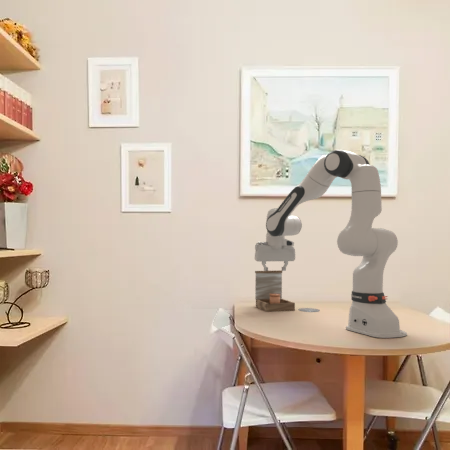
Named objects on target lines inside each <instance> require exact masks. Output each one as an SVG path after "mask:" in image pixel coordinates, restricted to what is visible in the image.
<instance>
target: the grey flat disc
mask: <svg viewBox="0 0 450 450" xmlns="http://www.w3.org/2000/svg"><path fill="white" fill-rule="evenodd" d="M298 311H299V312H304V313H319V312H320V311H321V310H320V309H318V308H312V307H300V308H298Z"/></svg>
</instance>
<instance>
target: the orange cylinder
mask: <svg viewBox="0 0 450 450" xmlns="http://www.w3.org/2000/svg"><path fill="white" fill-rule="evenodd" d="M274 303H280V294H279V293H270V304H274Z"/></svg>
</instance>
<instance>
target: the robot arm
mask: <svg viewBox="0 0 450 450" xmlns="http://www.w3.org/2000/svg"><path fill="white" fill-rule="evenodd" d="M336 178H341V179H342V180H343V179H344V180H349V182H350V186H351V211H350V217H349V220H348V222H347V224H346V226H345V228H343V230H341V231H340V232H339V234H338V235H337V240H336V243H337V244H336V245H337V247H338V250H339V251H340V253H342V254H344V255H347V256H352V257H362V260H361V263H360V264H359V265H358V266H356V267H355V268H354V269H353V271H352V290H351V294H350V295H351V299H350V300H351V301H352V303H351V304H350V306H349V313H348V321H347V325H346V327H345V330H348V331H351V332H354V333H358V334H362V335H365V336H369V337H373V338H377V339H378V338H380V339H382V338H383V339H387V338H388V339H389V338H390V339H393V338H402V337H406V336H407V335H408V334H407V331H405V330H401V329H400V319H399V317H398V316H397V315H396V314H395V312H394V311H393V310H392V309H391V307H389V305H388V304H387V303H386V302H387V298H388V297H389V296H388V295H387V296H386V295H385V292H383V291H384V285H383V284H384V271H385V268H386V265H387V262H388V260H389V258H390V257H391V255H392V254H394V252H396V250H397V248H398V245H399V244H398V243H399V241H398V238H397V235H396V234H395V233H394V232H393V231H392V230H389V229H385V228H381V227H380V228H379V227H378V228H376V227H372V226H373V223H374V221H375V219H376V218H377V217H379V216H380V214H381V213H382V209H383V208H382V207H383V206H382V186H381V178H380V174H379V171H378V168H377V167H376V166H374V165H371V164H370V162H369V160H368V159H367V158H366V157H365V156H363V155H362V154H357V153H355V152H352V151H349V150H343V149H334V150H331V151H329V152H328V153H327V154H323V155H322V156H320V157H319V158H318V159H317V160H316V162H315V163H314V164H313V165H312V166H311V168H310V169H309V171H308V172H307V173H306V175H305V176H304V178H303V179H302V180H301V181H300V183H298V184H297V185H296V186H295V187H294V188H293V189H292V190H291V191H290V192H289V193H288V194H287V196H286V197H285V199H284V200H283V201H282V202H281V203H280V204H279V206H278V207H277V208H271V209H269V210H268V211H267V215H266V222H265V228H266V235H265V237H266V238H265V241H258V242H256V243H255V246H254V250H255V251H254V260H255V261H256V262H261V265H262V266H263V271H269V267H268V266H266V264H267V262H283V266H281V270H282V272H285V271H286V270H287V267H288V265H289V262H294V261H295V260H296V249H295V247H294V246H295V242H294V241H292V240H290V239H287V238H285V237H287V236H296V235H298V234H300V232H301V230H302V227H303V226H302V225H303V224H302V220H301V218H300V217H299V216H297V215H293V212H294V211H295V210H296V209H297V208H298V206H299V205H301V204H303V203H306V202H308V201H313V200H317V199H319V198H322V196H324V194H325V193H327V191H328V189H329V188H330V186H331V185H332V183H333V181H334V180H335V179H336Z"/></svg>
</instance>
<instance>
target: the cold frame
mask: <svg viewBox="0 0 450 450" xmlns="http://www.w3.org/2000/svg"><path fill="white" fill-rule="evenodd" d="M254 273H255V288H254V289H255V290H254V291H255V308H257V309H260V310H262V311H265V312H266V313H270V312H271V313H273V312H290V311H293V312H294V311H295V310H296V308H295V307H296V304H295V302H293V301H290V300H288V299H284V298H282V297H283V296H282V295H283V294H282V293H283V292H282V291H283V290H282V289H283V288H282V287H283V277H282V276H283V271H282V269H281V270H268V271H264V270H255V271H254ZM270 293H279V294H280V303H274V304H270Z"/></svg>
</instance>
